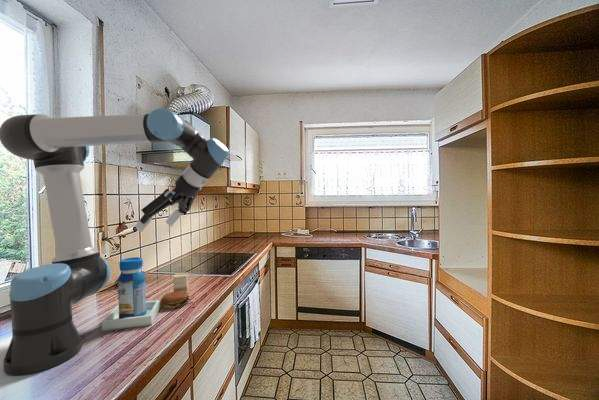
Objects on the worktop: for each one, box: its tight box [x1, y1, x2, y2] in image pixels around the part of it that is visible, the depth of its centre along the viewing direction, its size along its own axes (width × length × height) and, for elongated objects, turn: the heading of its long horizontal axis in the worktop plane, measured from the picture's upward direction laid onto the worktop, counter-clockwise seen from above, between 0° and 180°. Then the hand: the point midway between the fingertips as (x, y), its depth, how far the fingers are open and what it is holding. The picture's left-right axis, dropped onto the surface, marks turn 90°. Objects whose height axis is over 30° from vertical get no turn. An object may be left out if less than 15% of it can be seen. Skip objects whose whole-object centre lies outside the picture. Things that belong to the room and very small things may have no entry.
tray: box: [101, 299, 161, 333], centre depth 95 cm, size 14×14×3 cm
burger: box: [160, 290, 190, 310], centre depth 107 cm, size 10×9×5 cm
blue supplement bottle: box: [116, 256, 147, 319], centre depth 94 cm, size 8×8×20 cm
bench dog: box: [172, 271, 189, 295], centre depth 115 cm, size 5×5×9 cm
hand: (154, 226), depth 94 cm, fingers open, 13 cm apart
